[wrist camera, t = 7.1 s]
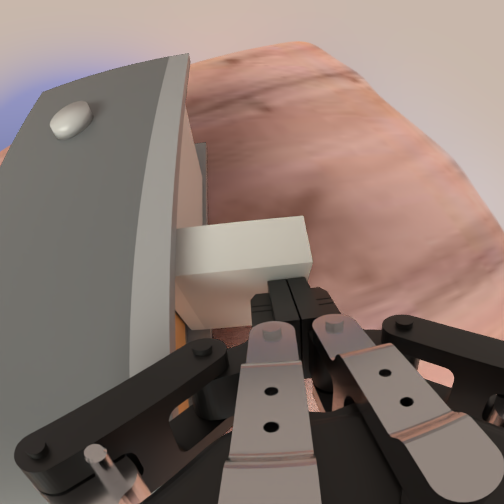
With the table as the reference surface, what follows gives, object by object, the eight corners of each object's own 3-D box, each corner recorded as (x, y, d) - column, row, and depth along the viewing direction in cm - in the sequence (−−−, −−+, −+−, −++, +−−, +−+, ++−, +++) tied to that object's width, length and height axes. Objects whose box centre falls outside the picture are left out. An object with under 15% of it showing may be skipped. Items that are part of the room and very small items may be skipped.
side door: (191, 330, 17) (150, 278, 11) (191, 178, 23) (170, 100, 17) (296, 320, 17) (312, 261, 11) (272, 170, 23) (272, 88, 17)
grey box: (54, 492, 13) (-59, 504, 4) (87, 160, 26) (44, 76, 18) (228, 514, 13) (189, 597, 4) (207, 139, 26) (188, 36, 18)
